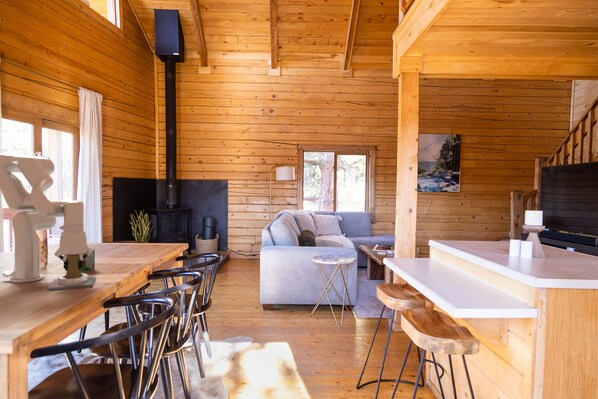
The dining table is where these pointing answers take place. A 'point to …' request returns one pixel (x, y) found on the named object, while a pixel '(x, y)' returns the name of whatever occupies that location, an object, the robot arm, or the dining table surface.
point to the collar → (72, 282)
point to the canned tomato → (89, 262)
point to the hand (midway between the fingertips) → (73, 269)
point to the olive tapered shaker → (73, 266)
